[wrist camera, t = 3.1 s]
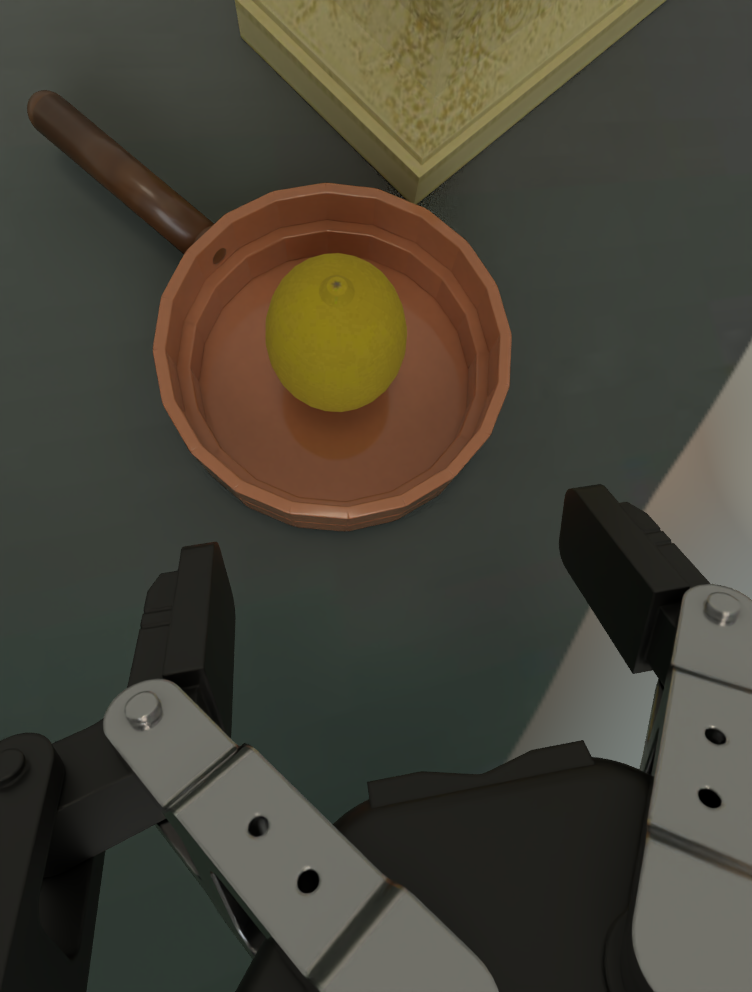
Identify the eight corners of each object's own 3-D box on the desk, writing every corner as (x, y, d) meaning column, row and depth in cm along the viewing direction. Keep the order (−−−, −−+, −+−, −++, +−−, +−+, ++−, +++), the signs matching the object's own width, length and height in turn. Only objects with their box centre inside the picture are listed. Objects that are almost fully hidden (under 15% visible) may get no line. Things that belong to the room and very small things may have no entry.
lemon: (401, 328, 29) (426, 221, 21) (390, 441, 28) (412, 373, 20) (283, 313, 29) (263, 200, 21) (267, 427, 27) (241, 352, 20)
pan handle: (30, 131, 28) (10, 98, 26) (60, 106, 28) (41, 72, 26) (210, 282, 27) (202, 259, 25) (239, 255, 27) (232, 230, 25)
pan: (112, 389, 28) (76, 352, 24) (322, 186, 30) (320, 122, 26) (351, 597, 27) (354, 595, 23) (546, 368, 29) (579, 330, 25)
